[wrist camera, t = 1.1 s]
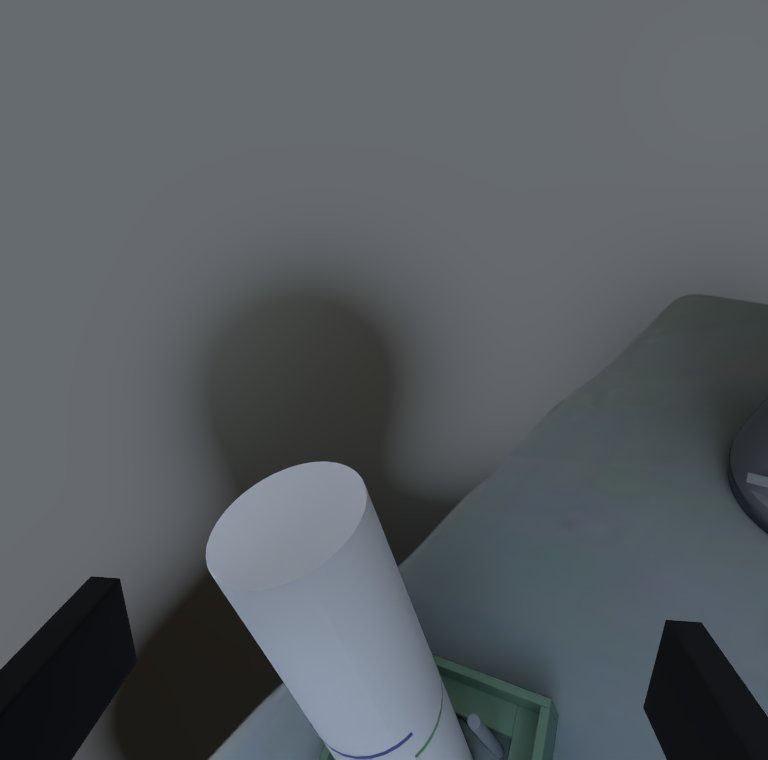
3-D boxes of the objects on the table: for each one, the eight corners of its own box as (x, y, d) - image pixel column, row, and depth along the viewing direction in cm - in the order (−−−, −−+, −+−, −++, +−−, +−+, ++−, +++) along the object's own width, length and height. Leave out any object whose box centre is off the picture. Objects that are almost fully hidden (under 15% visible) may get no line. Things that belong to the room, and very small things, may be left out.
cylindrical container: (360, 761, 33) (203, 507, 22) (445, 704, 34) (339, 442, 23) (400, 890, 26) (208, 627, 15) (501, 814, 28) (393, 526, 17)
